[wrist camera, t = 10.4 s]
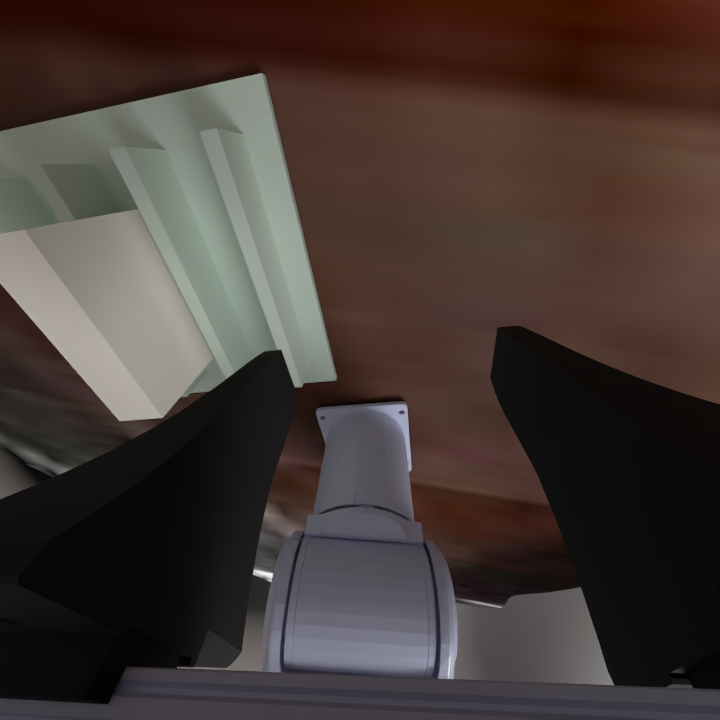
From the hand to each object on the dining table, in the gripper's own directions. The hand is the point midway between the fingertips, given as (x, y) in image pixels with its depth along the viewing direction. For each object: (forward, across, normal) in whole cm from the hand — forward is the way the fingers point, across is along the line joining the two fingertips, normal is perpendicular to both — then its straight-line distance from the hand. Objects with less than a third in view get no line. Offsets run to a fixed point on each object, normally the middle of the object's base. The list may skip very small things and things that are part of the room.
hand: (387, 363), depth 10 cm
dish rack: (+10, +13, -1) cm, 17 cm away
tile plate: (+10, +13, -1) cm, 16 cm away
